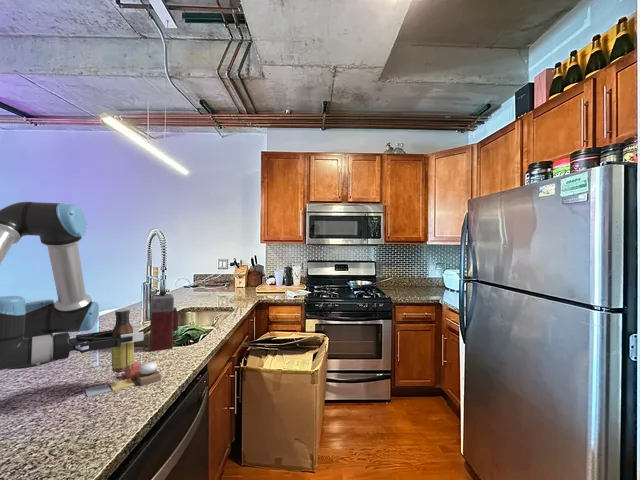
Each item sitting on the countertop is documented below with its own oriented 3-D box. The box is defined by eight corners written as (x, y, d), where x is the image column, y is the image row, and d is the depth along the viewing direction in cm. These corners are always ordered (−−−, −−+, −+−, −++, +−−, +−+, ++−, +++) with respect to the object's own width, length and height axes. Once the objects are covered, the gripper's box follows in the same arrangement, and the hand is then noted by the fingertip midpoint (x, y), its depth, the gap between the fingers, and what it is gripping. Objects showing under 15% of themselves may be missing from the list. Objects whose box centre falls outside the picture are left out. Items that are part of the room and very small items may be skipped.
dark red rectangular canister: (178, 347, 140) (179, 285, 140) (149, 351, 134) (151, 287, 135) (176, 342, 148) (178, 283, 148) (149, 345, 142) (151, 284, 143)
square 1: (85, 390, 98) (85, 389, 98) (107, 384, 102) (107, 384, 102) (87, 397, 94) (87, 396, 94) (111, 391, 98) (111, 390, 98)
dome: (137, 370, 107) (137, 364, 107) (154, 366, 111) (154, 360, 111) (141, 375, 103) (141, 368, 103) (158, 371, 107) (158, 364, 107)
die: (124, 376, 109) (125, 365, 109) (136, 372, 112) (136, 361, 113) (130, 379, 107) (130, 367, 107) (142, 375, 110) (142, 364, 110)
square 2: (109, 384, 103) (109, 383, 103) (130, 379, 107) (130, 378, 107) (112, 390, 98) (112, 390, 98) (134, 385, 102) (134, 384, 102)
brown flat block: (135, 378, 108) (135, 372, 108) (154, 373, 112) (154, 367, 112) (141, 386, 102) (141, 379, 102) (160, 380, 106) (160, 375, 106)
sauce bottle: (129, 364, 107) (131, 307, 108) (136, 369, 103) (138, 309, 104) (107, 370, 102) (109, 309, 103) (114, 375, 98) (116, 312, 99)
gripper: (50, 352, 98) (133, 338, 113) (52, 370, 84) (147, 351, 99) (51, 328, 98) (134, 317, 113) (53, 342, 84) (148, 328, 99)
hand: (140, 333), depth 106 cm, fingers closed on sauce bottle, 6 cm apart
